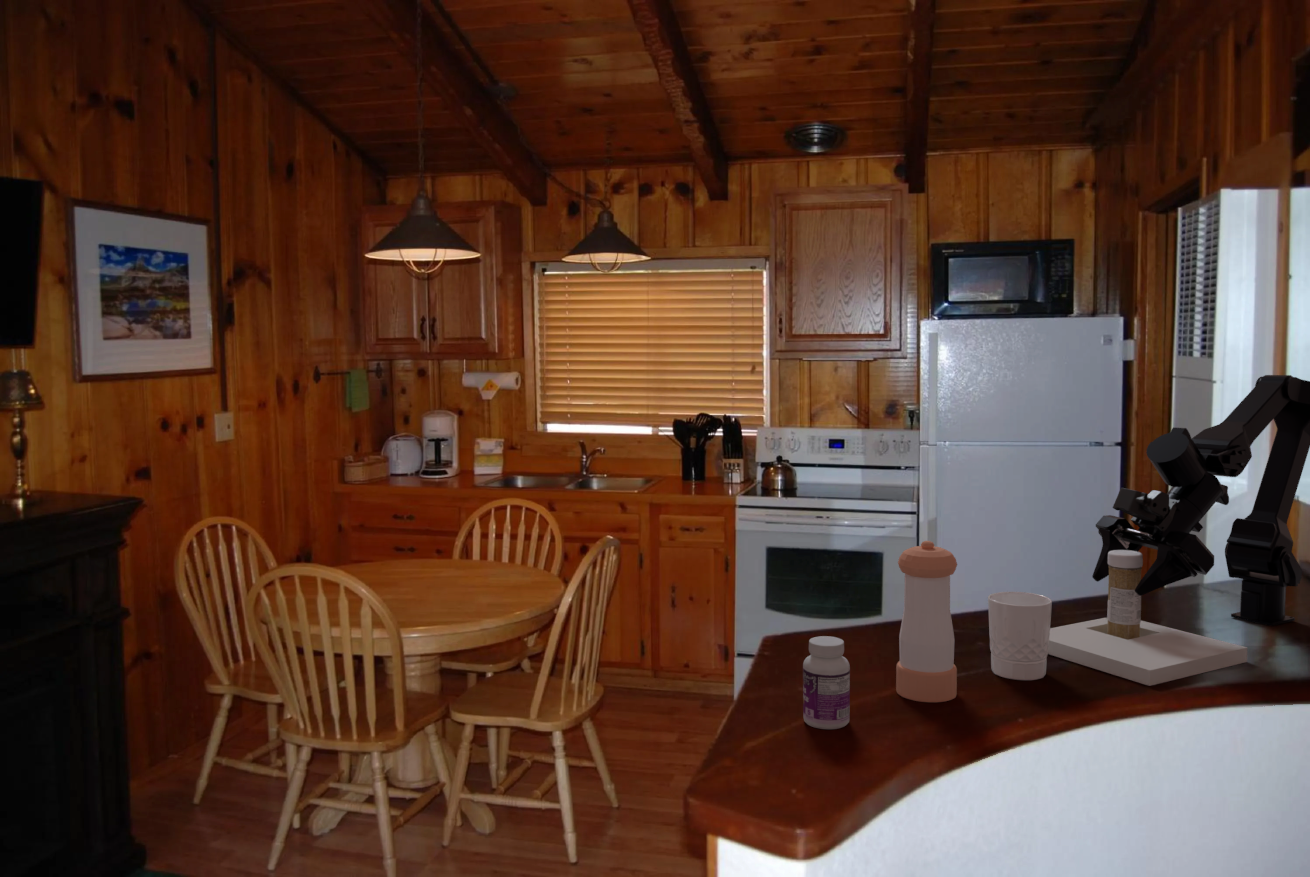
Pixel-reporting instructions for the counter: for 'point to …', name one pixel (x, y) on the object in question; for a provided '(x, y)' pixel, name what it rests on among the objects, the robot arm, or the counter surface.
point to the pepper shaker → (927, 626)
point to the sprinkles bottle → (1124, 593)
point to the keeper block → (1143, 651)
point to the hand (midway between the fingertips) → (1115, 586)
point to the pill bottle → (826, 684)
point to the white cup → (1019, 634)
